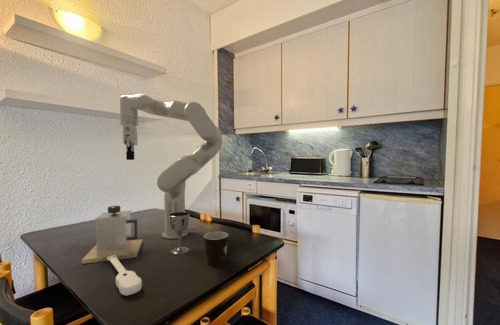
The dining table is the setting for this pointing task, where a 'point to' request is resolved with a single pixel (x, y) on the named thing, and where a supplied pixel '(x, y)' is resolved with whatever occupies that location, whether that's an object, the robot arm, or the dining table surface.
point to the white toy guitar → (125, 278)
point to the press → (114, 238)
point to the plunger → (113, 209)
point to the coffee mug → (216, 248)
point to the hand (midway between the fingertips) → (130, 159)
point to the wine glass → (179, 228)
